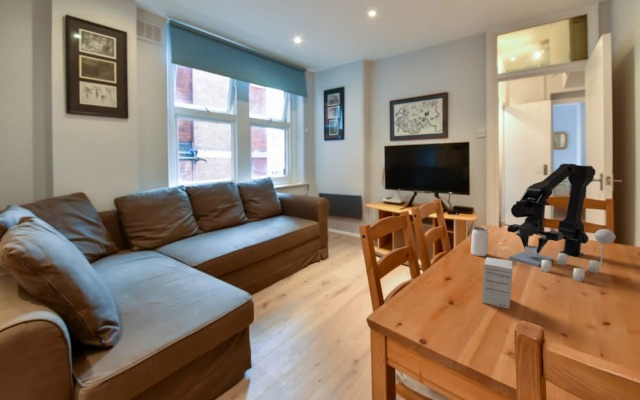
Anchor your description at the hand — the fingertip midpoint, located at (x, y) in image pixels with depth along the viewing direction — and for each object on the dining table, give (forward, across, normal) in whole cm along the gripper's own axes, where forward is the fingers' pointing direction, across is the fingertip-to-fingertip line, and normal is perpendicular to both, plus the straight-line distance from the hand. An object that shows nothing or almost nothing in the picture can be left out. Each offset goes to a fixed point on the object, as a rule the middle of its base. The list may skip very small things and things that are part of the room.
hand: (532, 251), depth 125 cm
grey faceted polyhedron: (+1, 0, 0) cm, 1 cm away
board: (+4, 0, 0) cm, 4 cm away
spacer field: (+4, +14, -2) cm, 15 cm away
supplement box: (+4, +12, -49) cm, 51 cm away
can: (+4, -16, -12) cm, 20 cm away
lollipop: (+4, +18, +16) cm, 24 cm away
